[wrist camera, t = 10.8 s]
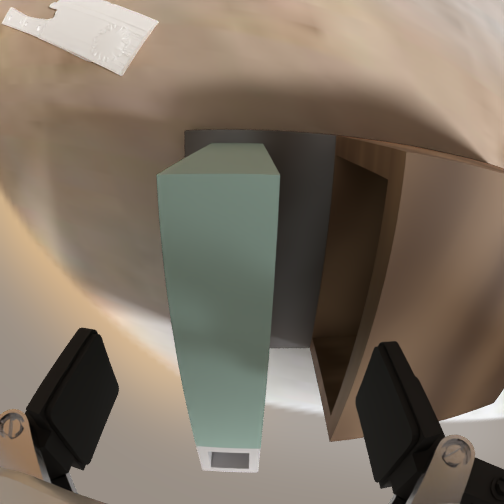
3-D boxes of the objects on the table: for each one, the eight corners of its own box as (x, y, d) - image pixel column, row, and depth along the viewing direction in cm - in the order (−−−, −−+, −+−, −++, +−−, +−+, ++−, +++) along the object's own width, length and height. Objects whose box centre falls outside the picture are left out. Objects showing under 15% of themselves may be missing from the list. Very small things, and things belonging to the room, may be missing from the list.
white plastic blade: (37, -24, 11) (31, -28, 10) (166, 17, 15) (162, 12, 14) (6, 25, 13) (-1, 23, 12) (123, 78, 16) (117, 76, 15)
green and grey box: (262, 143, 17) (279, 175, 7) (255, 345, 23) (257, 472, 13) (211, 143, 17) (156, 174, 7) (217, 345, 23) (202, 470, 13)
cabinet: (489, 163, 18) (581, 200, 9) (444, 329, 25) (493, 402, 15) (187, 130, 18) (125, 141, 9) (198, 337, 24) (178, 440, 15)
